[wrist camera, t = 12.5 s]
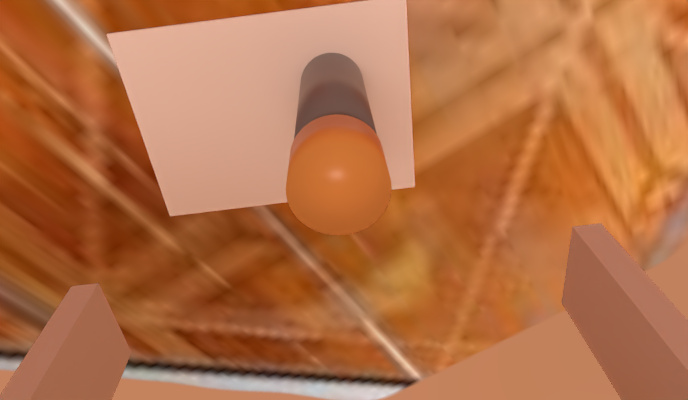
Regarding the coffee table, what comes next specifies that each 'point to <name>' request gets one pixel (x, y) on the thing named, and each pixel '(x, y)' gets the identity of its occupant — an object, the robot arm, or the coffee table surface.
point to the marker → (336, 151)
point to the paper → (257, 96)
